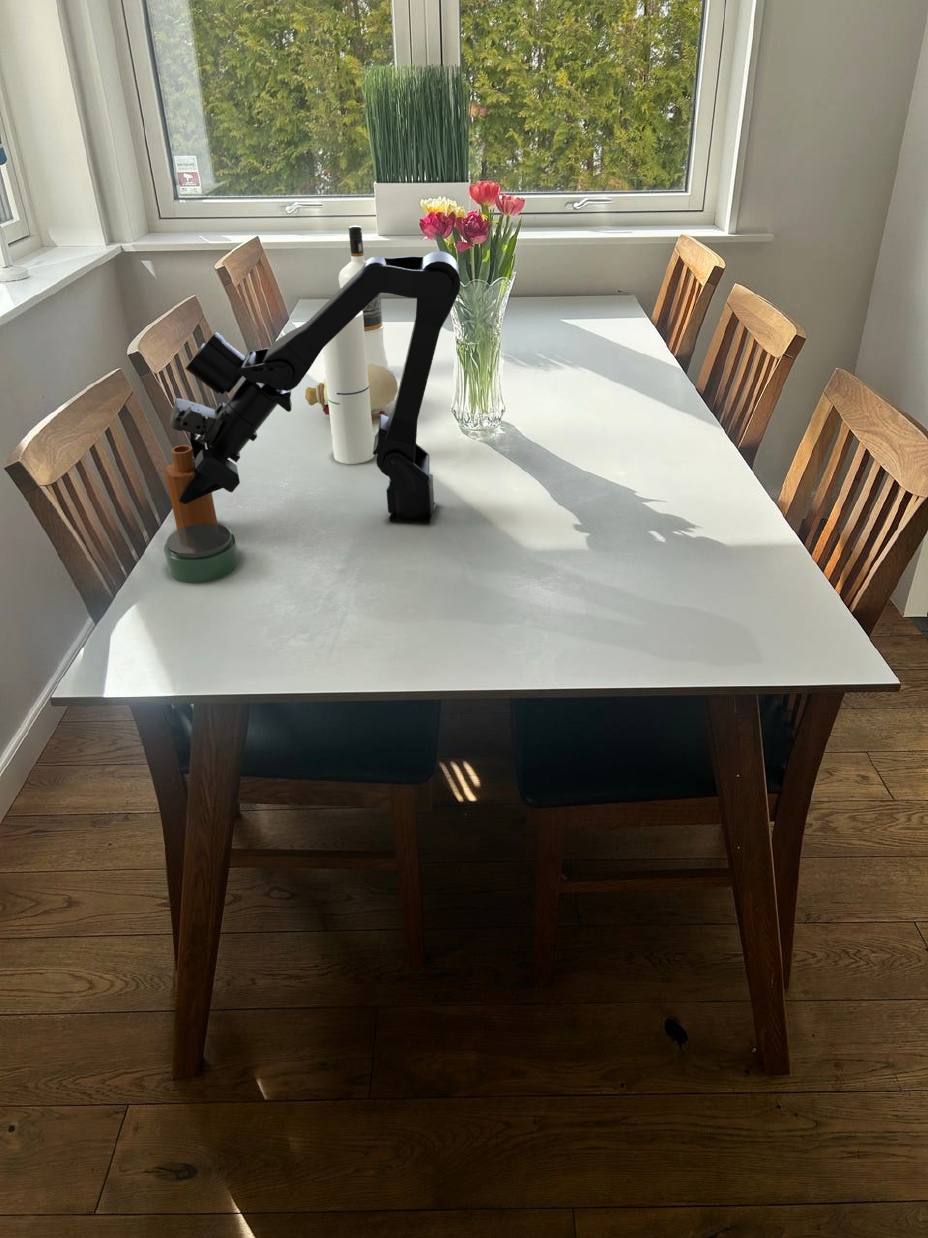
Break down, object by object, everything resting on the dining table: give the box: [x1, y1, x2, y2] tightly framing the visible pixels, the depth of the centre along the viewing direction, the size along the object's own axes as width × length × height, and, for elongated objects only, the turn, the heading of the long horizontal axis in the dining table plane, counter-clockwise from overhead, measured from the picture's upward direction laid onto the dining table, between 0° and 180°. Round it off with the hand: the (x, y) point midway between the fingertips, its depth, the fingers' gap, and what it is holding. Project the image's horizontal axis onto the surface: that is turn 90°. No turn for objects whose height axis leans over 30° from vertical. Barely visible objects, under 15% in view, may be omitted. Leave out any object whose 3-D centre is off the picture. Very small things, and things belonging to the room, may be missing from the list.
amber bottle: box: [164, 444, 219, 531], centre depth 142 cm, size 6×6×14 cm
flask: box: [304, 364, 399, 419], centre depth 182 cm, size 9×16×18 cm
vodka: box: [338, 225, 389, 370], centre depth 195 cm, size 9×9×30 cm
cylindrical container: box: [322, 311, 375, 465], centre depth 161 cm, size 7×7×25 cm
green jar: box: [163, 523, 240, 584], centre depth 136 cm, size 10×10×4 cm
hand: (181, 492), depth 142 cm, fingers closed on amber bottle, 6 cm apart
